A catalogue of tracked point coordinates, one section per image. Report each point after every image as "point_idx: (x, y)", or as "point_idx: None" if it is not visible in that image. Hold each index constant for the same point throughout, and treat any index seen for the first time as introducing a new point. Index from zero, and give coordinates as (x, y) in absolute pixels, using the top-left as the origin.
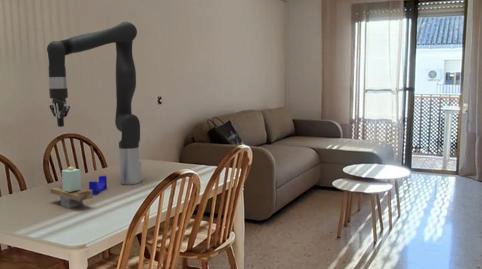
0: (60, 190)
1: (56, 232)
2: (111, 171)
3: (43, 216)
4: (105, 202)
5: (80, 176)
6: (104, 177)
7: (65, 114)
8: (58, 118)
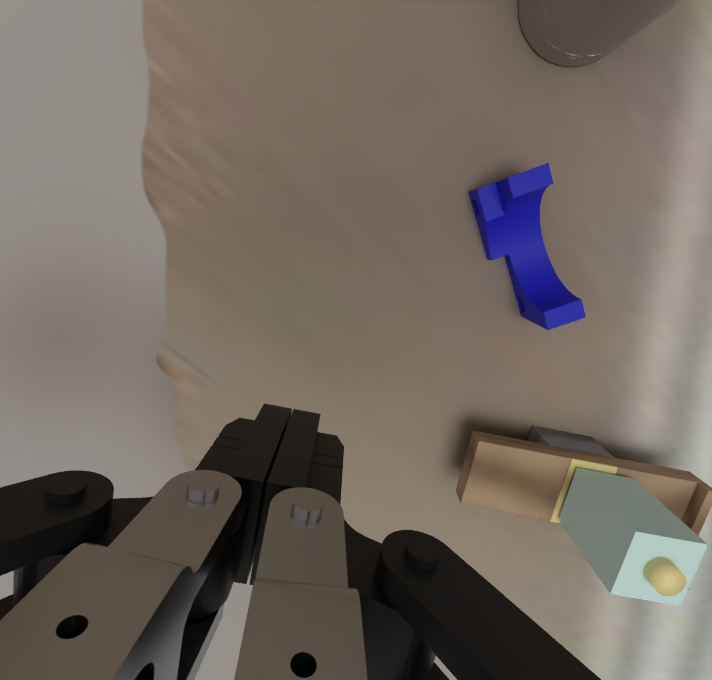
0: (533, 510)
1: (700, 665)
2: None
3: (549, 586)
4: (666, 377)
5: (677, 518)
6: (546, 185)
7: (445, 610)
8: (246, 573)
